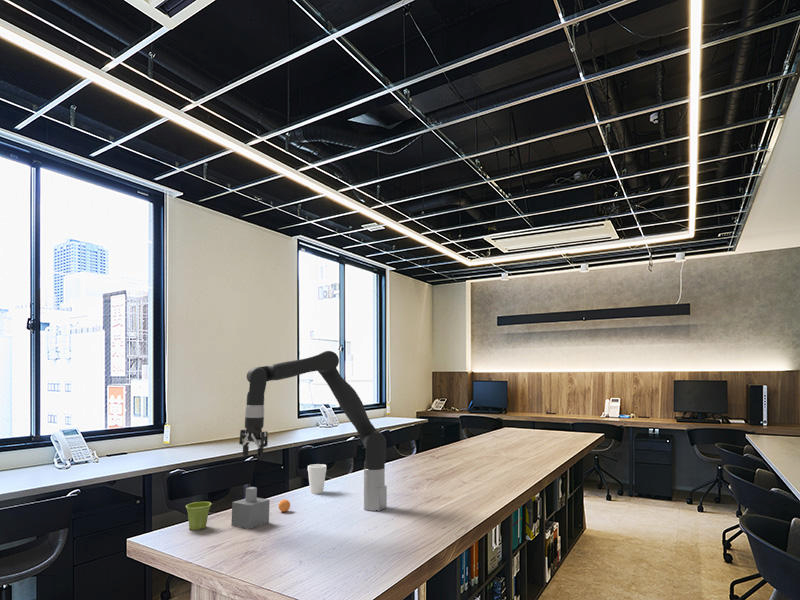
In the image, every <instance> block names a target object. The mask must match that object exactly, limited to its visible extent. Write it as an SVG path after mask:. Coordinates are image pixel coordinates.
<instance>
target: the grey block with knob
mask: <svg viewBox="0 0 800 600" xmlns="http://www.w3.org/2000/svg"><path fill="white" fill-rule="evenodd" d="M257 494H258V488H257V487H255V486H249V487H246V488H245V498H243V499H239V500H235V501H232V502H231V503H232V504H231V525H230V526H232V525H235V526H234V527H237V526H240V527H239V528H241V527H244V528H243V529H246V528H249V529H248V530H251V529H250V528H252V527H255V526H258V527H260V526H262V525H261V524H263V525H265V524H264V523H266V524H268V523H267V522H269V523H270V503H271V501H270V500H271V499H266V498H263V497H262V498H261V497H258V496H257ZM259 525H260V526H259ZM255 528H256V527H255ZM252 529H253V528H252Z"/></svg>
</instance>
